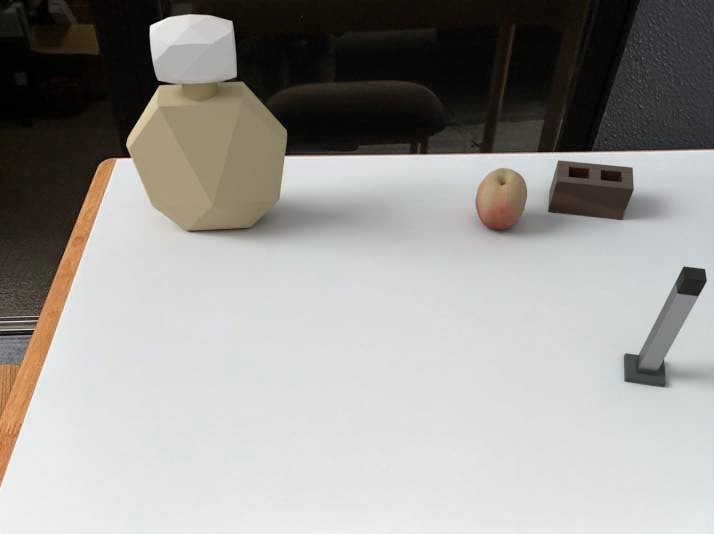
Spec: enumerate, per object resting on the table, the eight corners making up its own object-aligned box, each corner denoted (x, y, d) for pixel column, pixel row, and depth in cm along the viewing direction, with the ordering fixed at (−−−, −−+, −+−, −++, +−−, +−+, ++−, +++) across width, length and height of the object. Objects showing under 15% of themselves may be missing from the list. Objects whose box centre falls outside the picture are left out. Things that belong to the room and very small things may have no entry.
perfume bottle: (291, 236, 105) (282, 28, 82) (143, 243, 105) (91, 36, 82) (289, 196, 112) (280, -7, 89) (150, 203, 112) (103, 0, 89)
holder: (549, 190, 111) (558, 160, 107) (621, 197, 110) (632, 167, 105) (547, 211, 108) (556, 181, 104) (621, 219, 106) (634, 189, 102)
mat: (662, 361, 87) (664, 358, 87) (664, 387, 85) (666, 383, 84) (623, 356, 88) (625, 352, 88) (624, 381, 85) (626, 378, 85)
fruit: (464, 231, 105) (473, 181, 99) (479, 206, 109) (488, 156, 102) (513, 242, 103) (525, 192, 97) (526, 216, 107) (539, 166, 100)
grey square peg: (654, 363, 86) (705, 268, 75) (655, 375, 85) (707, 281, 73) (635, 360, 87) (683, 266, 75) (635, 372, 85) (684, 278, 74)
